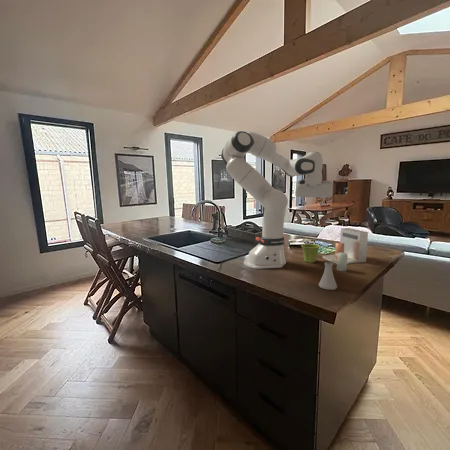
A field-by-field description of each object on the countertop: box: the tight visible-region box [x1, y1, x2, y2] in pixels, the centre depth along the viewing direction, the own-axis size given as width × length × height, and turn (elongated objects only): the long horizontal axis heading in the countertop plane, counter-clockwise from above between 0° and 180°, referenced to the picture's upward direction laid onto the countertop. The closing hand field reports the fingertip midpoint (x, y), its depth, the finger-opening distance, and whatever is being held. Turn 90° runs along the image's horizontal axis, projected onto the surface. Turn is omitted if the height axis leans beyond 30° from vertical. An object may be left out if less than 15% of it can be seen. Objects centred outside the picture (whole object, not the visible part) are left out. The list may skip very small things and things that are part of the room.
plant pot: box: [301, 243, 320, 264], centre depth 139 cm, size 9×9×9 cm
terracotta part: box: [334, 242, 344, 258], centre depth 139 cm, size 4×4×8 cm
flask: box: [318, 261, 338, 291], centre depth 104 cm, size 7×7×10 cm
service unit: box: [322, 227, 369, 265], centre depth 140 cm, size 18×14×16 cm
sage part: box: [336, 253, 348, 272], centre depth 124 cm, size 4×4×8 cm
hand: (313, 205), depth 150 cm, fingers open, 8 cm apart
